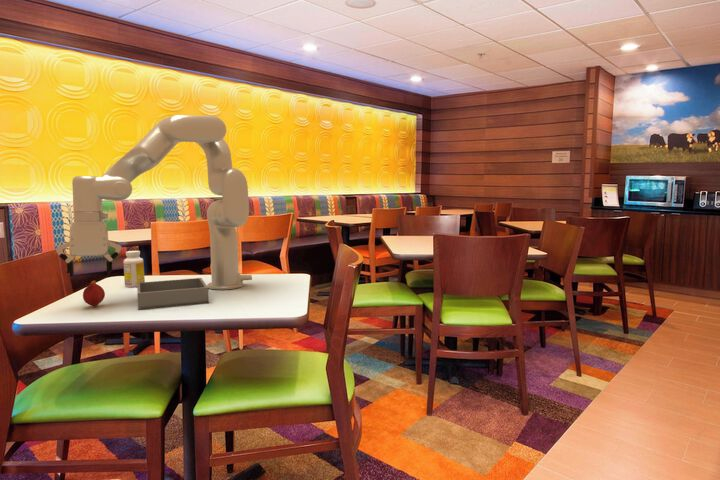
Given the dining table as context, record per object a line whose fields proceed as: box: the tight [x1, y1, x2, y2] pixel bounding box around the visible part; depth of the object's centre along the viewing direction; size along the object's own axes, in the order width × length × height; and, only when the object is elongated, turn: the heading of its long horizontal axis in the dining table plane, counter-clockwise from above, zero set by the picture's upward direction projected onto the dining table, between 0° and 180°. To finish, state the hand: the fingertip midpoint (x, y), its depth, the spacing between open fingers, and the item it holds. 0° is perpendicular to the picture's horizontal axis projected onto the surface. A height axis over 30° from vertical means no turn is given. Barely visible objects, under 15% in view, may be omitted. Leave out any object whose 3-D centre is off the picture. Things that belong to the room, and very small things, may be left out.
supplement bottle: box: [123, 250, 146, 288], centre depth 177 cm, size 7×7×13 cm
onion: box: [82, 280, 106, 308], centre depth 146 cm, size 6×6×8 cm
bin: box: [136, 277, 210, 311], centre depth 154 cm, size 20×18×5 cm
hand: (90, 274), depth 145 cm, fingers open, 9 cm apart
